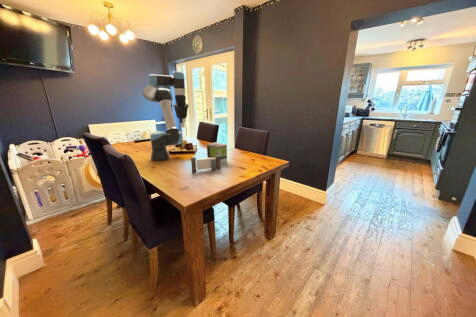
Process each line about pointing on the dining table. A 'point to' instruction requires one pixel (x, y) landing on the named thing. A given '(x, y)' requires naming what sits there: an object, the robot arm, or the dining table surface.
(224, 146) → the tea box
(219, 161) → the post
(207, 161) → the cream flat block
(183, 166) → the dining table surface
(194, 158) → the hinge post
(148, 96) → the robot arm
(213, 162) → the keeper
